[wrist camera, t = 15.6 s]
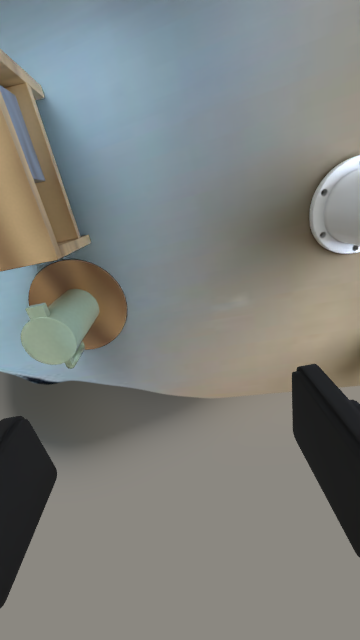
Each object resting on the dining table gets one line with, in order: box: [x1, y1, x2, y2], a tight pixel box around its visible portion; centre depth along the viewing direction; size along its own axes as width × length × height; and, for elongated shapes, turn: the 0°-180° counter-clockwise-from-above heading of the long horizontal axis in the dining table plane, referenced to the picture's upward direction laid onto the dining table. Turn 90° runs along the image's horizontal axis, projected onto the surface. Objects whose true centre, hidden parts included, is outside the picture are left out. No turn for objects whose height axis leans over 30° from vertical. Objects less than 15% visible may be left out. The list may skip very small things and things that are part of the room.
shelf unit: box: [0, 49, 91, 271], centre depth 29 cm, size 10×18×12 cm, turn 11°
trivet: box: [29, 259, 127, 350], centre depth 41 cm, size 15×15×1 cm
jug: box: [21, 289, 99, 369], centre depth 36 cm, size 10×6×11 cm, turn 11°
